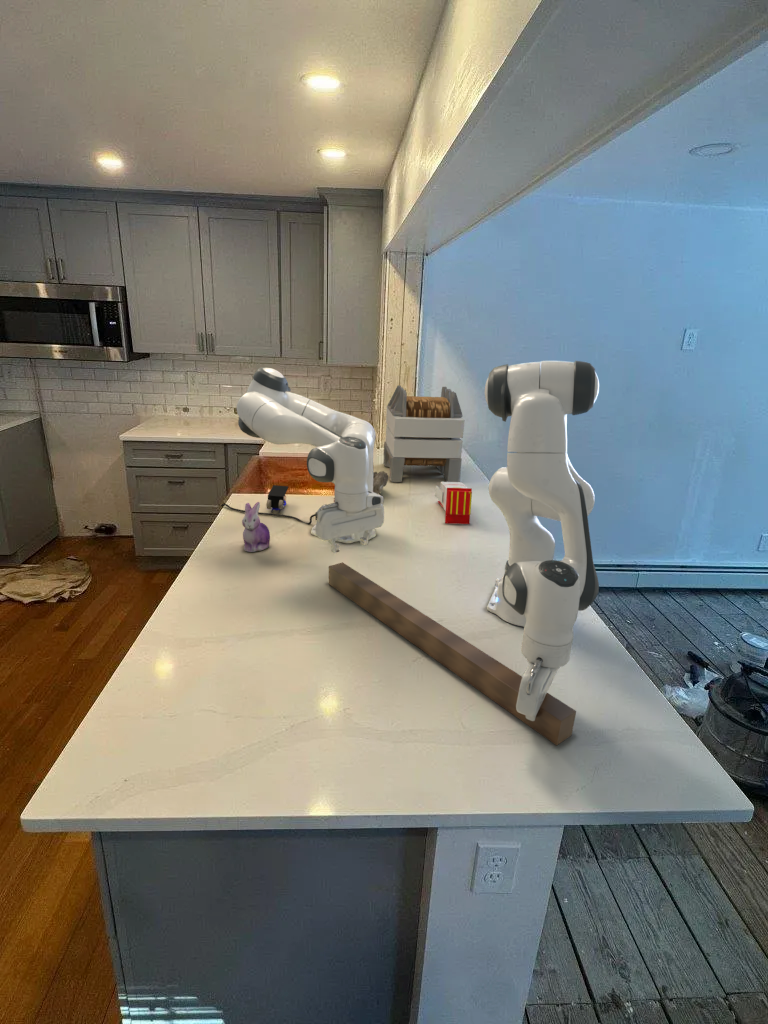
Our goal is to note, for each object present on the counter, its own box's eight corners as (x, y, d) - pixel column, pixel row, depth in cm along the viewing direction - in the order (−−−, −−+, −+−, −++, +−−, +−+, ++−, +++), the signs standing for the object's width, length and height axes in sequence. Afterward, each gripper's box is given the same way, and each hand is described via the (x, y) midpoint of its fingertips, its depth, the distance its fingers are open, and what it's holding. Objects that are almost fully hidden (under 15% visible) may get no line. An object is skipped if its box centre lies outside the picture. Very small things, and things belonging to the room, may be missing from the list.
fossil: (357, 477, 248) (384, 458, 243) (370, 494, 251) (397, 476, 246) (349, 498, 228) (379, 478, 223) (364, 515, 231) (393, 496, 226)
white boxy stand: (382, 463, 289) (386, 382, 275) (445, 464, 293) (451, 384, 279) (390, 482, 257) (394, 392, 243) (460, 483, 261) (468, 394, 247)
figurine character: (284, 518, 213) (289, 501, 226) (283, 500, 209) (288, 484, 223) (266, 517, 212) (272, 500, 226) (265, 499, 209) (271, 483, 223)
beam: (328, 583, 162) (328, 566, 160) (342, 579, 164) (342, 562, 163) (556, 745, 105) (561, 721, 103) (571, 735, 108) (576, 711, 106)
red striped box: (463, 477, 236) (476, 489, 206) (461, 509, 239) (474, 525, 209) (433, 476, 235) (443, 488, 206) (432, 508, 238) (441, 524, 209)
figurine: (246, 555, 177) (244, 510, 172) (238, 543, 186) (236, 499, 181) (275, 550, 181) (274, 506, 176) (266, 539, 190) (265, 496, 185)
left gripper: (323, 510, 141) (323, 560, 145) (388, 496, 153) (386, 543, 157) (310, 502, 145) (310, 552, 150) (374, 490, 157) (372, 536, 162)
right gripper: (548, 681, 96) (537, 746, 100) (575, 627, 113) (564, 685, 117) (512, 669, 99) (503, 733, 103) (543, 618, 115) (534, 675, 120)
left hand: (349, 547), depth 154 cm, fingers open, 8 cm apart
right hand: (536, 707), depth 110 cm, fingers closed on beam, 6 cm apart
